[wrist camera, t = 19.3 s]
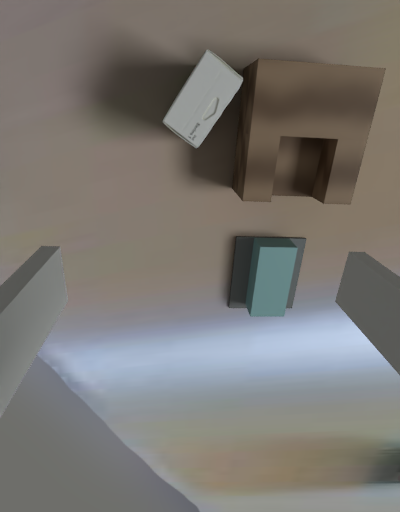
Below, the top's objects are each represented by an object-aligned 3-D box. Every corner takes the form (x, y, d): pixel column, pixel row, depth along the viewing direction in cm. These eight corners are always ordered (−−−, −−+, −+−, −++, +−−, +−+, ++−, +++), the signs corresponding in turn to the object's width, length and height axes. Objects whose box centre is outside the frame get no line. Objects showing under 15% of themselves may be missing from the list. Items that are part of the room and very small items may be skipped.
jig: (243, 69, 41) (258, 58, 34) (349, 76, 42) (385, 68, 35) (232, 188, 47) (242, 200, 40) (324, 191, 49) (350, 204, 42)
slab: (254, 237, 51) (260, 247, 47) (289, 238, 51) (297, 247, 48) (245, 303, 56) (250, 316, 52) (276, 303, 57) (284, 316, 53)
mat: (236, 236, 51) (236, 237, 51) (305, 237, 52) (306, 238, 52) (228, 306, 57) (229, 308, 56) (291, 306, 58) (291, 308, 57)
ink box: (198, 62, 40) (207, 43, 30) (228, 88, 42) (246, 77, 31) (163, 120, 43) (159, 121, 32) (192, 142, 44) (197, 150, 34)
